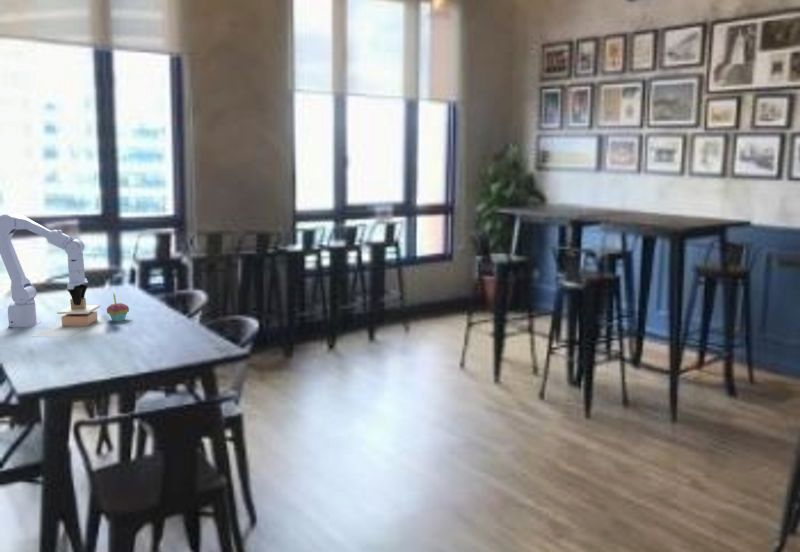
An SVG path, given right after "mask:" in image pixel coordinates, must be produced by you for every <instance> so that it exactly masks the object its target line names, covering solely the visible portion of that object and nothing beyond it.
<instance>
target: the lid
mask: <svg viewBox="0 0 800 552" xmlns="http://www.w3.org/2000/svg"><path fill="white" fill-rule="evenodd" d="M69 301H70V305H68V306H66V307H64V308H63V309H60V310H58V311H56V315H66V314H89V313H90V312H92V311H96V310H98V309H99V308H100V307H101V306H100V304H99V305H98V304H94V305H92V304H91V305H89V304H88V305H87V299H86V297H84V298H81V303H80V305H74V303H73V300H72V298H70V300H69Z"/></svg>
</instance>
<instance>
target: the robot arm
mask: <svg viewBox="0 0 800 552" xmlns="http://www.w3.org/2000/svg"><path fill="white" fill-rule="evenodd" d="M18 230H27V231H29V232H32V233H35V234H36V235H39V236H41V237H43V238H45V239H46V242H47V243H49V244H51V245H53V246H54V247H56V248H59V249H61V250H63V251H65V253H66V254H67V266H68V267H67V268H68V284H67V285H66V286H67V287H66V288H67V289H66V290H67V292H68V293H69V295H70V297H71V299H72V300H73V303H74V305H80V303H81V298H85V297H86V296H85V295H86V291H87V289H88V284H87V283H89V280H88V278H87V277H86V276H85V263H84V262H85V261H84V252H83V251H84V250H85V244H84V242H83V240H81V239H80V238H74V236H73V235H70V236H69V235H67V234H66V233H63V230H62V229H52V230H50V229H48V228H47V227H45V226H43V225H41V224H40V223H37V222H35V221H33V220H32V219H30V218H28V217H27V216H25V215H22V214H21V215H20V214H19V213H18V212H10V213H8V214H2V215H0V257H1V259H2V262H3V264H4V267H5V270H6V272H7V274H8V276H9V279H10V281H11V282H10V291H11V299H12V301H13V303H9V305H8V307H7V318H8V325H7V328H15V327H16V328H22V327H24V328H25V327H26V328H28V327H29V328H33V327H35V326H37V325H38V324H41V323H42V322H41V321H38V319H37V311H36V310H37V309H36V300H35V298H36V296H37V293H38V292H37V289H36V287H35V285H33V284H32V283H31V280H29V278H27V276H26V274H25V272H24V270H23V267H22V265H21V264H22V263H20V260H19V257H18V253H17V252H16V250H15V247H14V245H13V243H12V241H11V238H13V236H14V234H15V233H16V231H18Z"/></svg>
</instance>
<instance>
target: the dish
mask: <svg viewBox="0 0 800 552" xmlns="http://www.w3.org/2000/svg"><path fill="white" fill-rule="evenodd" d="M60 319H61V326H62V327H89V326H90V325H92V324H94V323H96V322H97V321H98V312H97V311H96V310H94V311H92V312H90V313H89V314H63V316H61V318H60Z"/></svg>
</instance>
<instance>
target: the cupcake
mask: <svg viewBox="0 0 800 552" xmlns="http://www.w3.org/2000/svg"><path fill="white" fill-rule="evenodd" d="M112 297H113V302H114V303H112V304H110V305H108V306H107V308H106V313H107V314H108V315H109V316H110V319H111V321H112V322H123V321H125V320H126V316H127V314H128V312H130V308H129V305H126V304H125V303H121V302H117V299H116V294H115V293H113V296H112Z"/></svg>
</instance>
